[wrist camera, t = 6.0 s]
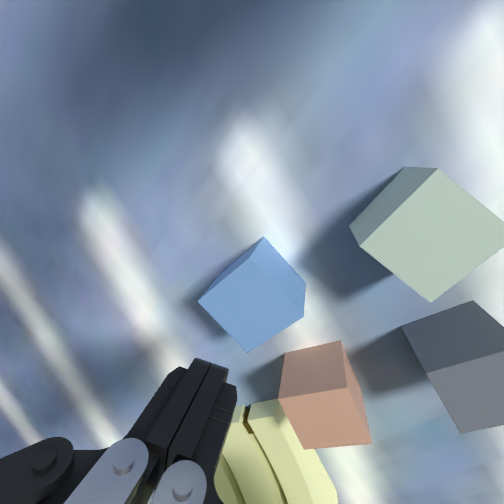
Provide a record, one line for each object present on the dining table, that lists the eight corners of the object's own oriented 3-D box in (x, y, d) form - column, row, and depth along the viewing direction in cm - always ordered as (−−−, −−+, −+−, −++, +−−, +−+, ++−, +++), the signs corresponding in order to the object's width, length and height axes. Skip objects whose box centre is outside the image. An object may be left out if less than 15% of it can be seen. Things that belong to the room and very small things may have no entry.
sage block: (348, 225, 19) (359, 246, 14) (404, 166, 17) (438, 168, 12) (402, 268, 19) (430, 302, 14) (464, 214, 17) (519, 234, 12)
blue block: (221, 272, 22) (197, 301, 18) (264, 236, 20) (249, 257, 16) (260, 314, 23) (247, 353, 18) (305, 282, 21) (303, 316, 16)
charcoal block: (400, 325, 20) (425, 373, 16) (472, 299, 19) (524, 345, 14) (428, 373, 21) (460, 433, 16) (499, 353, 19) (557, 414, 15)
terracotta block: (285, 352, 23) (277, 399, 19) (340, 339, 22) (347, 387, 17) (306, 395, 25) (303, 449, 20) (360, 386, 23) (371, 443, 18)
